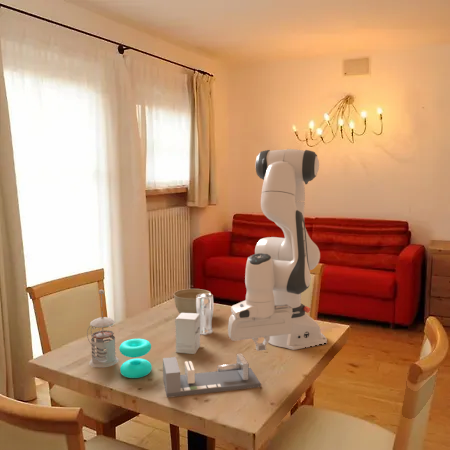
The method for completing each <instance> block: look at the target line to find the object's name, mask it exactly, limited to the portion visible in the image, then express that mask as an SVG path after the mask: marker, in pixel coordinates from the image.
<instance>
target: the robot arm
mask: <svg viewBox="0 0 450 450" xmlns="http://www.w3.org/2000/svg"><path fill="white" fill-rule="evenodd" d="M254 165H255V166H254V168H255V172H256V175H257V177H259V179H261V180H263V183H262V186H261V195H260V209H261V212H262V213H263V215H264V216H265V217H266V219H268V220H269V221H271V222H274V223H275V225H276V226H277V227H279V228H280V229H281V231H282V232H283V235H284V237H277V236H271V237H270V236H267V237H263V238H260V239H259V240H258V242H256V245H255V248H254V254H252V255H250V256H248V257H247V260H246V264H245V271H244V272H245V273H244V275H245V276H244V278H245V279H244V283H245V288H246V289H245V290H246V294H245V300H242V301H240V302H238V303H236V304H233V305H232V306H231V307H230V311H231V312H230V313H231V314H230V316H229V318H228V323H227V324H228V326H227V335H228V338H229V339H230V340H231V341H233V342H235V341H242V340H244V341H245V340H251V339H252V341H253V342H254V344H255V350H256V351H257V352H260V351H267V345H268V344H269V345H272V346H275V347H280V348H286V349H289V350H292V351H294V350H295V351H296V350H300V349H306V348H311V347H310V346H312V347H316V346H315V345H317V346H320V345H319V344H322V345H325V344H324V343H326V344H328V338H327V337H326V336H325V335H324V334H323V333H322V331H321V327H320V325H319V323H318V322H317V321H316V320H314V318H312V317H311V316H310V315H308V313H310V312H311V308H310V307H309V306H306V305H305V304H303V303H302V293H304V292H305V291H306V290H307V289H309V287H310V284H311V271H312V270H314V269H315V268H316V267H317V266H318V265H319V263H320V259H321V252H320V249H319V247H318V245H317V244H316V243H315V242H314V241H313V240H312V239H311V237H310V235H309V233H308V231H307V229H306V224H305V223H306V221H305V204H306V203H305V200H306V199H305V198H306V191H305V190H306V189H305V185H308V184H309V182H312V181H313V180H314V179H315V178H316V177H317V175H318V172H319V168H320V160H319V158H318V154H317V153H316V152H315V151H313V150H308V149H305V150H301V149H294V148H293V149H291V148H287V149H275V150H270V149H267V150H262V151H260V152H259V153H258V154H257V155H256V159H255V164H254ZM261 338H263V341H262V342H260V343H259V342H258V341H259V339H261ZM305 347H306V348H305Z"/></svg>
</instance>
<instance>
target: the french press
mask: <svg viewBox="0 0 450 450" xmlns="http://www.w3.org/2000/svg"><path fill="white" fill-rule="evenodd" d="M104 293H105V291H104V290H103V289H99V290H98V294H99V295H100V301H101V302H100V303H101V306H103V294H104ZM103 313H104V312H101V317H98V318H97V317H96V318H94V319H93V320H91V321H90V323H89V326H88V327H87V331H86V336H87V340H88V342H89V344H90V345H91V359H90V361H89V362H88V364H89V366H91V367H92V368H108V367H112V366H115V365H116V364H118V362H119V358H118V357H117V356H116V337H115V335H114V334H115V332H114V331H112V330H104V328H108V327H112V326H113V325H115V323H116V321H115V320H114V319H113V318H111V317H106V316H104V315H103ZM103 316H104V317H103ZM96 328H102V330H97V331H94V332H93V333H92V329H93V330H95V329H96ZM89 329H90V336H91V341H90V339H89Z"/></svg>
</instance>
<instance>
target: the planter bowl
mask: <svg viewBox="0 0 450 450" xmlns="http://www.w3.org/2000/svg"><path fill="white" fill-rule="evenodd" d="M202 293H208V294H212V293H211V291H209V290H206V289H200V288H186V289H185V288H183V289H180V290H177V291H175V292H174V293H173V299H174V305H175V308H176V310H177V312H178V314H180V313H196V295H198V294H202Z"/></svg>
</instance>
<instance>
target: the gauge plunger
mask: <svg viewBox="0 0 450 450" xmlns="http://www.w3.org/2000/svg"><path fill="white" fill-rule="evenodd" d="M249 365H250V364H249V362H248V360H247V359H246V358H245V356H244V355H243V354H242V353H241V352H240V353H236V363H228V364H218V365H217V367H216V368H217V371H218V372H226V371H236V370H238V372H239V374H240V376H241V377H242V379H243V380H248V376H249V368H250V367H249Z"/></svg>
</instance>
